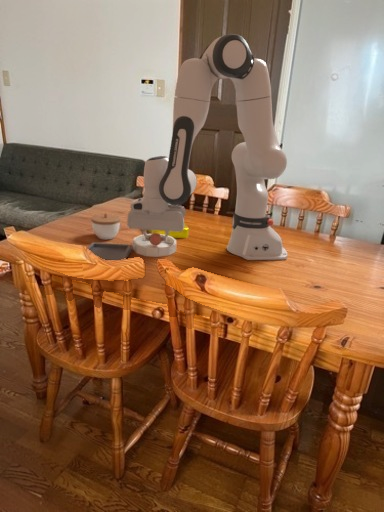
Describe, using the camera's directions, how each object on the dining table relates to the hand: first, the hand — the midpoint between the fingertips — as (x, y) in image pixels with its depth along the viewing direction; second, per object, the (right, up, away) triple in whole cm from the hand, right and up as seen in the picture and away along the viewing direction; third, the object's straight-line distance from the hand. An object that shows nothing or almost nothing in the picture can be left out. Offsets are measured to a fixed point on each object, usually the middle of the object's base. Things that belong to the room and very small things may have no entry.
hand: (155, 240), depth 128 cm
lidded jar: (-20, +2, +9) cm, 22 cm away
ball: (0, +1, 0) cm, 1 cm away
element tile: (+3, +4, +19) cm, 19 cm away
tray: (-16, -6, -9) cm, 19 cm away
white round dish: (0, -3, +1) cm, 3 cm away
